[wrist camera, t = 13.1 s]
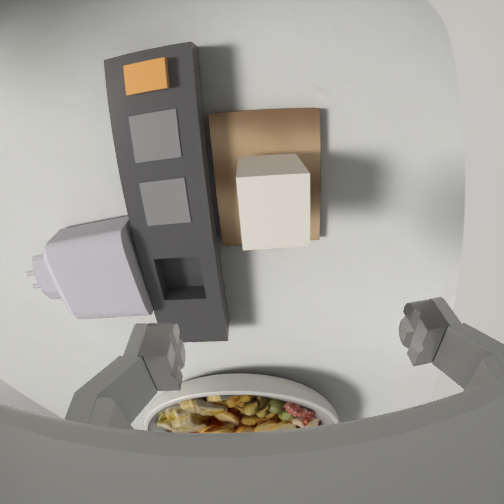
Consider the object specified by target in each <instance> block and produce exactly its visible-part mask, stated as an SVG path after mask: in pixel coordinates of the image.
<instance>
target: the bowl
mask: <svg viewBox="0 0 504 504" xmlns="http://www.w3.org/2000/svg"><path fill="white" fill-rule="evenodd" d="M335 423H340V422H339V418H338V416H337V413H336V411H335V409H334V408H333V406H332V405H331V404H330V403H329V402H328V400H327V399H325V398H324V397H323V396H322V395H321V394H319V393H318V392H316V391H315V390H313V389H311V388H309V387H307V386H305V385H303V384H300V383H298V382H295V381H292V380H288V379H284V378H280V377H275V376H269V375H262V374H249V373H230V374H218V375H210V376H205V377H200V378H196V379H192V380H189V381H186V382H183V383H181V390H180V391H165V392H164V393H163V394H161V395H160V396H159V397H158V398H157V399H156V400H155V401H154V402H153V403H152V405H151V406H150V408H149V409H148V411H147V414H146V417H145V421H144V427H143V429H144V430H145V431H158V432H177V433H242V432H262V431H275V430H287V429H297V428H306V427H314V426H321V425H328V424H335Z"/></svg>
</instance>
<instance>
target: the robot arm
mask: <svg viewBox="0 0 504 504" xmlns="http://www.w3.org/2000/svg"><path fill="white" fill-rule="evenodd" d="M403 312H404V314H405V315H406V316H405V317H404V318H403V319H402V320H401V322H400V326H399V336H400V340H401V342H402V344H403V345H404V346H405V347H407V348H409V349H408V352H407V354H408V356H409V358H410V360H411V362H412V365H413V366H417V365H422V364H427V363H432V362H433V363H432V364H434V365H435V366H436V367H437V368H439V369H440V370H441V371H442V372H444V373H445V374H446V375H447V376H449V377H450V378H451V379H452V380H454V381H455V382H456V383H457V384H458V385H460V386H461V387H462V388H463V389H464V391H463V392H461V393H459V394H455V395H453V396H449V397H446V398H443V399H440V400H437V401H433V402H430V403H426V404H423V405H419V406H415V407H412V408H408V409H404V410H400V411H396V412H391V413H387V414H383V415H378V416H373V417H369V418H363V419H358V420H353V421H347V422H341V423H335V424H328V425H321V426H314V427H306V428H297V429H287V430H275V431H262V432H242V433H177V432H158V431H145V430H134V429H133V428H132V426H131V425H130V424H131V423H132V421H133V420H134V419H135V418H136V417H137V416H138V414H139V413H140V412H141V411H142V410H143V409H144V407H145V406H146V405H147V404H148V403H149V401H150V400H151V399H152V398H153V397H154V396H155V394H156V393H157V391H180V390H181V383H182V377H183V375H182V372H181V369H182V368H183V367H184V364H185V348H184V344H183V341H182V340H181V339H180V338H179V335H180V330H179V327H178V324H176V323H149V324H136V325H134V327H133V330H132V332H131V335H130V338H129V341H128V344H127V346H126V349H125V352H124V355H123V356H119V357H118V358H117V359H115V360H114V361H113V362H112V363H110V364H109V365H108V366H107V367H105V368H104V369H103V370H102V371H101V372H99V373H98V374H97V375H96V376H94V377H93V378H92V379H91V380H90V381H88V382H87V383H86V384H85V385H83V386H82V387H81V388H80V389H79V390H77V391H76V392H75V393H74V396H73V398H72V401H71V403H70V406H69V409H68V411H67V414H66V417H65V419H60V418H55V417H50V416H46V415H41V414H37V413H33V412H29V411H25V410H21V409H18V408H14V407H10V406H7V405H4V404H1V403H0V504H504V344H502V343H500V342H498V341H497V340H495V339H493V338H491V337H489V336H488V335H486V334H484V333H482V332H480V331H478V330H477V329H475V328H473V327H471V326H469V325H467V324H465V323H463V324H461V322H460V321H459V319H458V318H457V317H456V315H455V314H454V312H453V311H452V310H451V308H450V307H449V305H448V304H447V303H446V301H445V300H444V299H443V298H441V297H438V298H433V299H429V300H422V301H416V302H410V303H407V304H406V305H405V307H404V311H403Z"/></svg>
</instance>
